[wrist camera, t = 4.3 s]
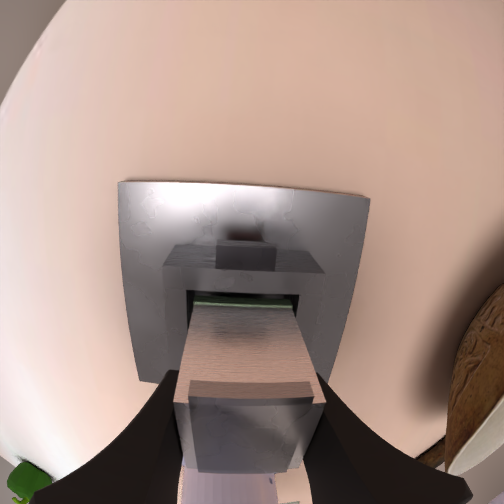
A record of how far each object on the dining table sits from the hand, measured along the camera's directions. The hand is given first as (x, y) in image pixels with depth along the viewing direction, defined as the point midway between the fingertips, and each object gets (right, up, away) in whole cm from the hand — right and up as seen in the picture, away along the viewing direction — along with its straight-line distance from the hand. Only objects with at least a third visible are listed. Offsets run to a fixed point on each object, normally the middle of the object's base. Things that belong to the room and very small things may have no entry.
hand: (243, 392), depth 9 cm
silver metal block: (0, +1, +3) cm, 4 cm away
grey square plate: (0, +2, +7) cm, 7 cm away
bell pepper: (-38, -34, +17) cm, 53 cm away
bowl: (+25, -3, +11) cm, 27 cm away
